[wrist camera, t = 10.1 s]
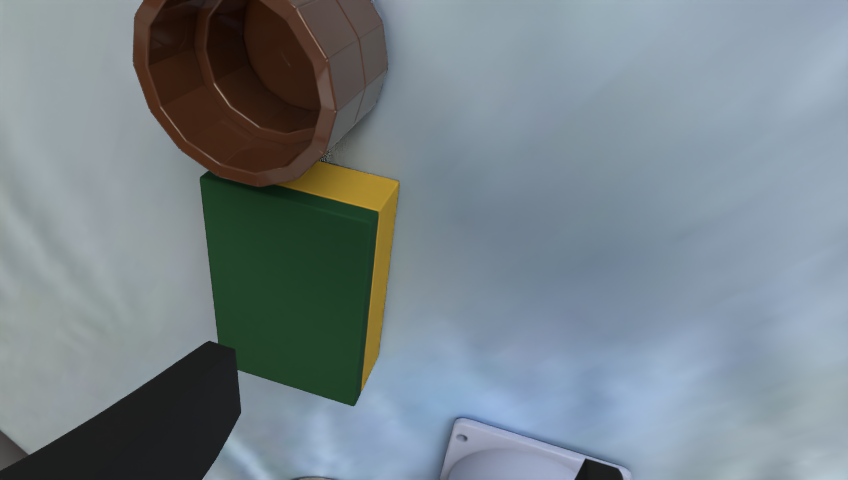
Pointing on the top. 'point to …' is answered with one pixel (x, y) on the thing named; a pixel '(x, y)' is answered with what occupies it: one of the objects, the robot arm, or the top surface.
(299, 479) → the mug
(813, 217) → the top surface
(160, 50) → the brown hollow cylinder
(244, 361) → the sponge
